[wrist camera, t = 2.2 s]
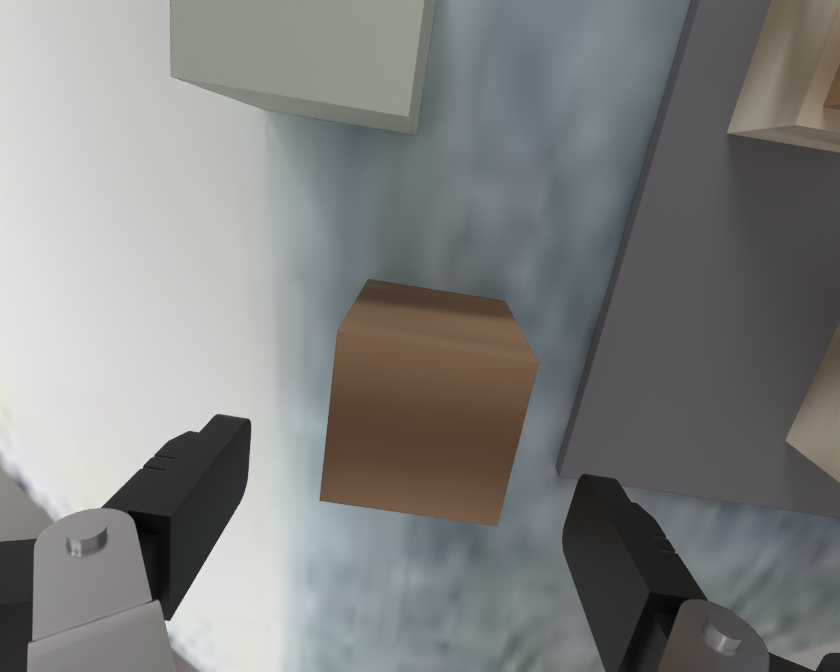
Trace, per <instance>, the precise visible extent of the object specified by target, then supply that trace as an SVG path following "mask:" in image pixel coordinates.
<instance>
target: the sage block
mask: <svg viewBox="0 0 840 672" xmlns="http://www.w3.org/2000/svg"><path fill="white" fill-rule="evenodd" d="M435 6H436V0H170V48H171V77H173V78H176V79H179V80H182V81H184V82H187V83H190V84H193V85H196V86H198V87H201V88H204V89H207V90H210V91H212V92H215V93H218V94H221V95H224V96H227V97H229V98H232V99H235V100H238V101H241V102H243V103H246V104H249V105H252V106H255V107H257V108H260V109H263V110H267V111H273V112H279V113H285V114H291V115H297V116H303V117H309V118H315V119H321V120H327V121H333V122H339V123H345V124H351V125H357V126H363V127H369V128H375V129H381V130H387V131H393V132H399V133H405V134H411V135H417V131H418V124H419V117H420V110H421V103H422V96H423V89H424V82H425V75H426V68H427V61H428V54H429V47H430V40H431V33H432V27H433V20H434V13H435Z"/></svg>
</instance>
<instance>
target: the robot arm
mask: <svg viewBox="0 0 840 672" xmlns="http://www.w3.org/2000/svg"><path fill="white" fill-rule="evenodd" d="M250 440H251V421H250V419H246V418H240V417H234V416H228V415H222V414H217V415H215V416H214V417H213V418H212V419H211V420H210V421H209V422H208V424H207V425H206V426H205V427H204V428H203V429H202V430H201V431H200V432H199V433H198V432H192V431H188V432H186V433H184V434H182V435H180V436H178V437H176V438H174V439H172V440H170V441H168V442H167V443H166V444H165V445H164V446H163V447H162V448H161V449H160V450H159V451H158V452H157V453H156V454H155V456H154V458H153V457H152V458H151V459H150V460H149V461H148V462H147V463H146V464H145V465H144V466H143V469H140V470H139V471H138V472H137V473H136V474H135V475H134V476H133V477H132V478H131V479H130V480H129V481H128V482H127V483H126V484H125V485H124V486H123V487H122V488H121V489H120V490H119V491H118V492H117V493H116V494H115V495H113V496H112V497H111V498H110V499H109V500H108V501H107V502H106V503H105V504H104V505H103V506H102V507H101V508H98V509H90V510H84V511H80V512H77V513H74V514H71V515H68V516H66V517H64V518H62V519H60V520H58V521H56V522H55V523H53V524H52V525H50V526H49V527H48V528H46V529H45V530H44V531H43V532H42V533H41V534H40V536H39V537H38V538H37V539H29V540H17V541H4V542H0V672H177V671H176V667H175V662H174V658H173V654H172V650H171V646H170V642H169V638H168V633H167V629H166V625H165V621H164V620H167V621H170V620H171V618H172V616H173V615H174V613H175V611H176V610H177V608H178V606H179V604H180V603H181V601H182V599H183V598H184V596H185V594H186V593H187V591H188V589H189V588H190V586H191V584H192V583H193V581H194V579H195V578H196V576H197V574H198V573H199V571H200V569H201V567H202V566H203V564H204V562H205V561H206V559H207V557H208V556H209V554H210V552H211V551H212V549H213V547H214V546H215V544H216V542H217V541H218V539H219V537H220V535H221V534H222V532H223V530H224V529H225V527H226V525H227V524H228V522H229V520H230V519H231V517H232V515H233V514H234V512H235V510H236V509H237V507H238V505H239V504H240V502H241V500H242V497H243V495H244V492H245V488H246V485H247V480H248V470H249V455H250ZM562 544H563V551H564V555H565V558H566V561H567V564H568V566H569V569H570V572H571V575H572V578H573V581H574V584H575V586H576V589H577V592H578V595H579V598H580V601H581V603H582V606H583V609H584V612H585V615H586V618H587V620H588V623H589V626H590V629H591V632H592V635H593V638H594V640H595V643H596V646H597V649H598V652H599V655H600V657H601V660H602V663H603V666H604V669H605V672H840V653H829V654H827V655H825V656H824V657H823V659H822V661H821V662H820V664H819V666H818V667H817V669H816V671H813V670H811V669H808V668H806V667H803V666H801V665H798V664H796V663H794V662H791V661H789V660H786V659H784V658H781V657H779V656H776V655H774V654H771V653H769V652H768V650H767V647H766V645H765V643H764V642H763V640H762V639H761V637H760V636H759V635H758V634H757V633H756V631H755V630H754V629H753V628H752V627H751V626H750V625H749V624H748V623H746V622H745V621H744V620H743V619H742V618H740V617H739V616H737V615H736V614H735V613H733V612H731V611H730V610H728V609H726V608H724V607H722V606H720V605H718V604H715V603H713V602H710V601H708V600H707V598H706V597H705V595H704V593H703V592H702V590H701V589H700V587H699V586H698V584H697V583H696V581H695V580H694V578H693V577H692V575H691V574H690V572H689V571H688V569H687V568H686V566H685V564H684V563H683V561H682V560H681V558H680V557H679V555H678V554H675V549H674V548H673V546H672V545H671V543H670V542H669V540H667V539H666V535H665V534H664V532H663V531H662V529H661V528H660V526H659V525H658V523H657V522H656V520H655V519H654V518H653V517H652V516H651V515H650V514H648V513H647V512H646V511H645V510H644V509H643V508H642V507H641V506H639V505H638V504H637V503H633V502H631V501H630V500H629V498H628V496H627V495H626V493H625V492H624V490H623V488H622V487H621V485H620V483H619V482H618V481H617V480H616V479H615V478H609V477H603V476H597V475H590V474H582V475H581V476H580V478H579V480H578V483H577V486H576V489H575V492H574V495H573V499H572V502H571V505H570V508H569V511H568V514H567V518H566V521H565V524H564V528H563V536H562Z"/></svg>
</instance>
